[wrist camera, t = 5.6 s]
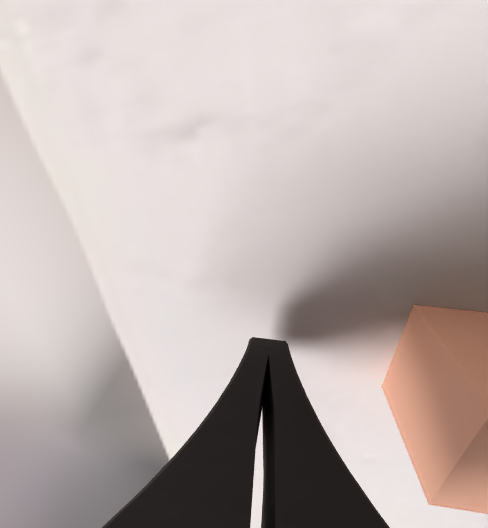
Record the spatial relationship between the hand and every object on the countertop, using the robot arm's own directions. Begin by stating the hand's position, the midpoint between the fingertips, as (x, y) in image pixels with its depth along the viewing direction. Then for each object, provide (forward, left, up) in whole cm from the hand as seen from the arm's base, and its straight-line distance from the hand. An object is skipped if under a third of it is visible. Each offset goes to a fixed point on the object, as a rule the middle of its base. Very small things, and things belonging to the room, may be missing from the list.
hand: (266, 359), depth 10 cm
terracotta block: (0, -7, -2) cm, 8 cm away
